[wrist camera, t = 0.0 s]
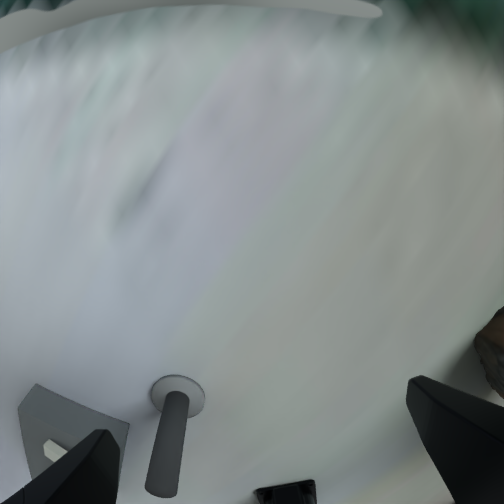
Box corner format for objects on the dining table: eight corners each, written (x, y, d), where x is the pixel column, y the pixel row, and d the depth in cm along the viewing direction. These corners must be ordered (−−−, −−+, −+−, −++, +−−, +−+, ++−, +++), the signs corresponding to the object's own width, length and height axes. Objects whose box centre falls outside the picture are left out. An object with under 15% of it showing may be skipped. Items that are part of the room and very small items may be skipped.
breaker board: (129, 423, 25) (119, 454, 21) (117, 490, 28) (110, 515, 24) (35, 383, 24) (17, 408, 20) (43, 459, 27) (32, 482, 23)
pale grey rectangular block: (77, 458, 21) (72, 464, 20) (77, 467, 21) (72, 474, 20) (49, 438, 21) (43, 444, 20) (50, 449, 21) (44, 455, 20)
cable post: (210, 411, 25) (205, 506, 16) (162, 415, 25) (142, 505, 15) (197, 371, 24) (183, 469, 14) (145, 377, 24) (113, 468, 14)
